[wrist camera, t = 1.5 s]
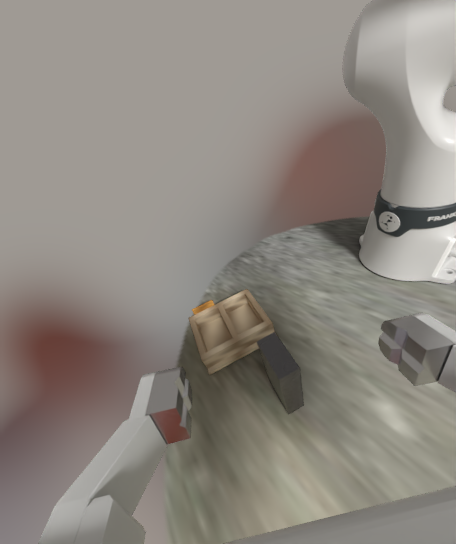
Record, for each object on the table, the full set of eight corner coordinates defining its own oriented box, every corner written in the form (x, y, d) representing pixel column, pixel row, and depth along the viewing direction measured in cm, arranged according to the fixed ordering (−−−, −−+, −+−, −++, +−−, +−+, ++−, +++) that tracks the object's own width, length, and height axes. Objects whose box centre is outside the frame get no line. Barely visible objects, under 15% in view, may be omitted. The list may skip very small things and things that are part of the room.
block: (283, 373, 33) (274, 331, 26) (303, 405, 29) (299, 368, 22) (270, 381, 33) (256, 341, 25) (288, 414, 29) (279, 379, 22)
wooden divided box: (249, 297, 47) (244, 282, 44) (277, 337, 38) (274, 321, 35) (193, 326, 45) (184, 311, 42) (210, 374, 36) (199, 361, 33)
